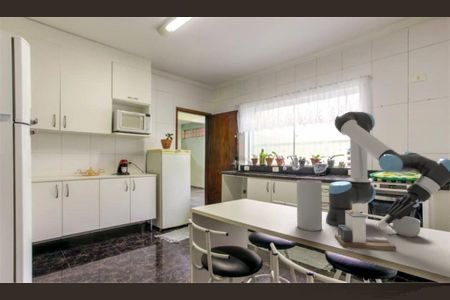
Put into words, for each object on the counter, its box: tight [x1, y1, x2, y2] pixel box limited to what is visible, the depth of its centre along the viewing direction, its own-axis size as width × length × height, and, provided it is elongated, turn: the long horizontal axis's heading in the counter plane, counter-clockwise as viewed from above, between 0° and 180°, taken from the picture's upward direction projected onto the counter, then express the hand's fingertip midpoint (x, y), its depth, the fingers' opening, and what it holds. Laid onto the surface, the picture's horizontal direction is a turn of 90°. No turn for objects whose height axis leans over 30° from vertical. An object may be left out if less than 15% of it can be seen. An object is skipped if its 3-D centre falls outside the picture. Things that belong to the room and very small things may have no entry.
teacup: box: [387, 215, 421, 238], centre depth 110 cm, size 14×11×8 cm
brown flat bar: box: [339, 235, 390, 243], centre depth 99 cm, size 3×19×1 cm, turn 80°
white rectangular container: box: [345, 210, 367, 243], centre depth 99 cm, size 9×5×12 cm, turn 170°
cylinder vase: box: [296, 179, 323, 232], centre depth 121 cm, size 12×12×25 cm
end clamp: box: [337, 225, 352, 242], centre depth 100 cm, size 8×3×5 cm, turn 170°
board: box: [334, 233, 397, 251], centre depth 99 cm, size 12×20×2 cm, turn 80°
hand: (379, 227), depth 97 cm, fingers closed
